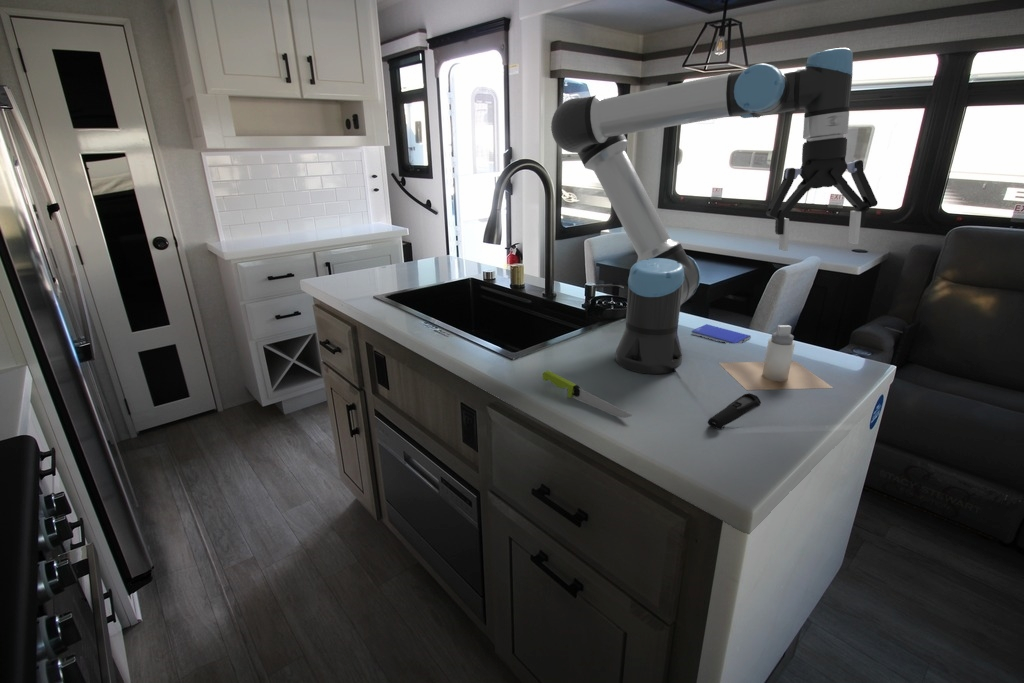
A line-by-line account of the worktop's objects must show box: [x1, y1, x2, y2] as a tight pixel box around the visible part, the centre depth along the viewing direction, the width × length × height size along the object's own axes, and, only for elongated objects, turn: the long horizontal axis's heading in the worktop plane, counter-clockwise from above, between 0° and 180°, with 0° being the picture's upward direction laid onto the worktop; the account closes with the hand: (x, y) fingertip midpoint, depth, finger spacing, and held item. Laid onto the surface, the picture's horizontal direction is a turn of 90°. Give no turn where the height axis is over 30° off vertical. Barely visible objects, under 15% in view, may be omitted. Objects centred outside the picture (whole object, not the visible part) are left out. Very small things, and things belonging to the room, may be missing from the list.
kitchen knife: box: [541, 370, 633, 419], centre depth 101 cm, size 22×1×3 cm, turn 43°
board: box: [718, 360, 834, 391], centre depth 111 cm, size 18×14×1 cm
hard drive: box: [691, 323, 752, 345], centre depth 136 cm, size 2×8×12 cm
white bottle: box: [762, 324, 796, 382], centre depth 107 cm, size 5×5×12 cm
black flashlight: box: [707, 392, 762, 430], centre depth 95 cm, size 4×16×3 cm, turn 129°
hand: (817, 246), depth 106 cm, fingers open, 13 cm apart
